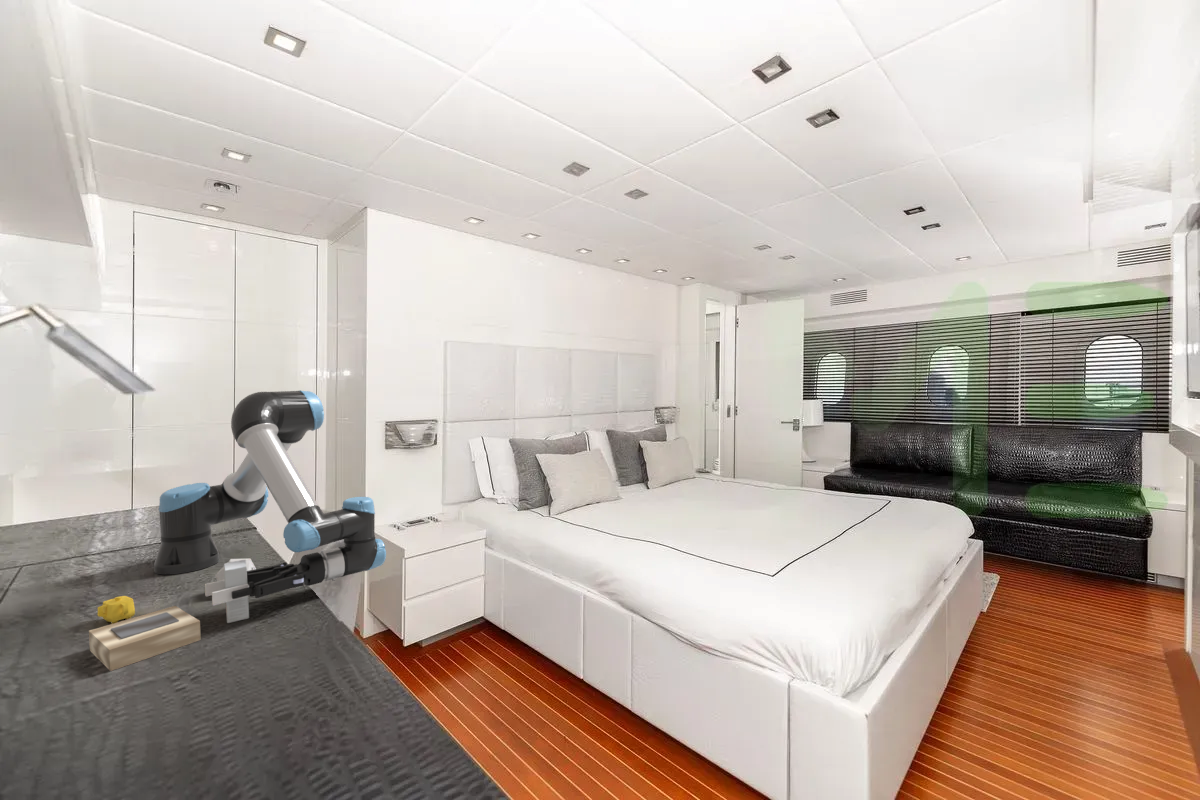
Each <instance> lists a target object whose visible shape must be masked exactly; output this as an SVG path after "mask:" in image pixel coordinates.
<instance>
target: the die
mask: <svg viewBox="0 0 1200 800" xmlns="http://www.w3.org/2000/svg"><path fill="white" fill-rule="evenodd" d="M240 560H246V566H247V571H250V570H254V569H257V568H256V566H255V564H254V563H253V561H252V559H251V558H230V559H229V560H228V561H227V562H226V563H228V562H234V561H240ZM214 577H215V579H216V581H220V580H224V565H223V566H222V567H221V568H220V570H218V571H217V573H215V574H214ZM248 587H249V585H248Z"/></svg>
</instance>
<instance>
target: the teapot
mask: <svg viewBox="0 0 1200 800" xmlns="http://www.w3.org/2000/svg"><path fill="white" fill-rule="evenodd" d="M96 613H97V617H99V618H102V620H105V621H106V622H107V623H110V624H114V623H117V622H120V621H123V620H124V619H125V620H127V619H131V618H132V617H134V616H135V614H136V608H135V603H134V599H133V598H132V597H130V596H127V595H122V596H119V595H118V596H116V597H114V598H111V599H107V600H104V601H102V605H100V606H97V612H96Z"/></svg>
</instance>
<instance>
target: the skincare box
mask: <svg viewBox="0 0 1200 800" xmlns="http://www.w3.org/2000/svg"><path fill="white" fill-rule="evenodd" d="M227 562H228V561H227ZM227 562H224V563H223V566H224V582H225V589H227V588H232V587H236V586H240V585H244V584H248V583H247V566H246V560H240V561H234V562H228V563H227ZM249 604H250V603H249V596H248V597H244V598H240V599H237V600H233V601H229V602H225V612H226V613H225V614H226V623H227V624H230V623H234V622H238V621H242V620H247V619H249V618H250V607H249Z"/></svg>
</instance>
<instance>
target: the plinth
mask: <svg viewBox="0 0 1200 800" xmlns="http://www.w3.org/2000/svg"><path fill="white" fill-rule="evenodd" d="M201 636H202V635H201V621H200V619H198V618H196V617H194V616H193V615H192V614H190V613H188V612H186V611H184V610H183V609H181V608H180V607H178V606H176V605H172V606H169V607H165V608H162V609H159V610H155V611H151V612H148V613H145V614H142V615H138V616H135V617H134V616H133V617H131V618H130V619H125V620H124V619H123V620H120V621H118V622H117V623H114V624H111V623H110V624H107V625H104V626H100V627H97V628H93V629H90V630H88V643H89V651H90V652H91V654H92V655H94V656H95V658H97V659H98V660H99V661H100V662H101V664H103V665H104V666H105V668H107V669H108V671H110V672H112V671H115V670H118V669H121V668H123V667H127V666H129V665H132V664H135V663H138V662H142V661H144V660H146V659H149V658H152V657H156V656H159V655H162V654H164V653H167V652H170V651H173V650H176V649H178V648H182V647H184V646H187V645H190V644H193V643H196V642H198V641H201V640H202V638H201Z"/></svg>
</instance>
